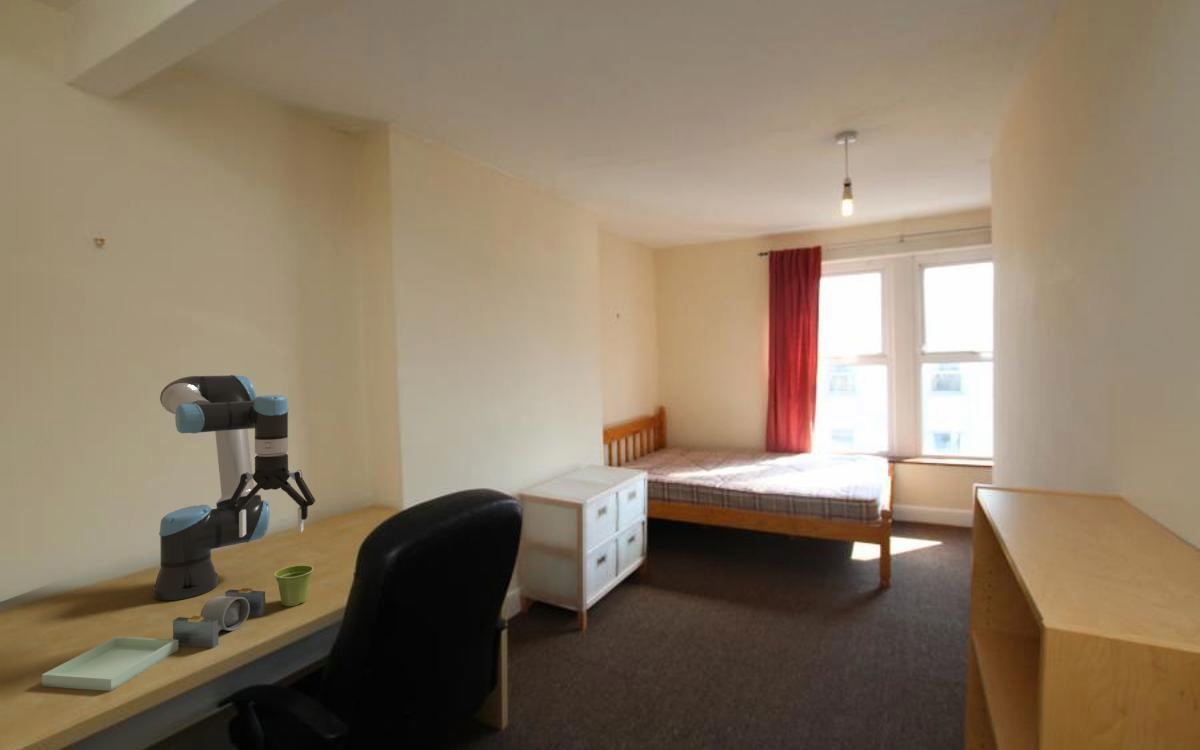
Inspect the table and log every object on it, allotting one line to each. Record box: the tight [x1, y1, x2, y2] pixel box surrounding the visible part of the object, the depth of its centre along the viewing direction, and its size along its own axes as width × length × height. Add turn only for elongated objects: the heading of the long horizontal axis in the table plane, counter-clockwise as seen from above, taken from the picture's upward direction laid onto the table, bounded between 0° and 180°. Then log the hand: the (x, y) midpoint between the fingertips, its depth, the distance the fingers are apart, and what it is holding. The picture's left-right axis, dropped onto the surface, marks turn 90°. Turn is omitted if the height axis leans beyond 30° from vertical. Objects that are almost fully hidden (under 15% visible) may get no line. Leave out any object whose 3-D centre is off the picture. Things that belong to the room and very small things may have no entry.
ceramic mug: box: [199, 595, 249, 633], centre depth 134 cm, size 11×8×8 cm
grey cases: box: [172, 587, 266, 649], centre depth 135 cm, size 10×17×6 cm, turn 175°
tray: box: [41, 635, 179, 692], centre depth 118 cm, size 16×16×2 cm
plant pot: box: [274, 564, 314, 607], centre depth 150 cm, size 9×9×9 cm
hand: (272, 533), depth 144 cm, fingers open, 13 cm apart
